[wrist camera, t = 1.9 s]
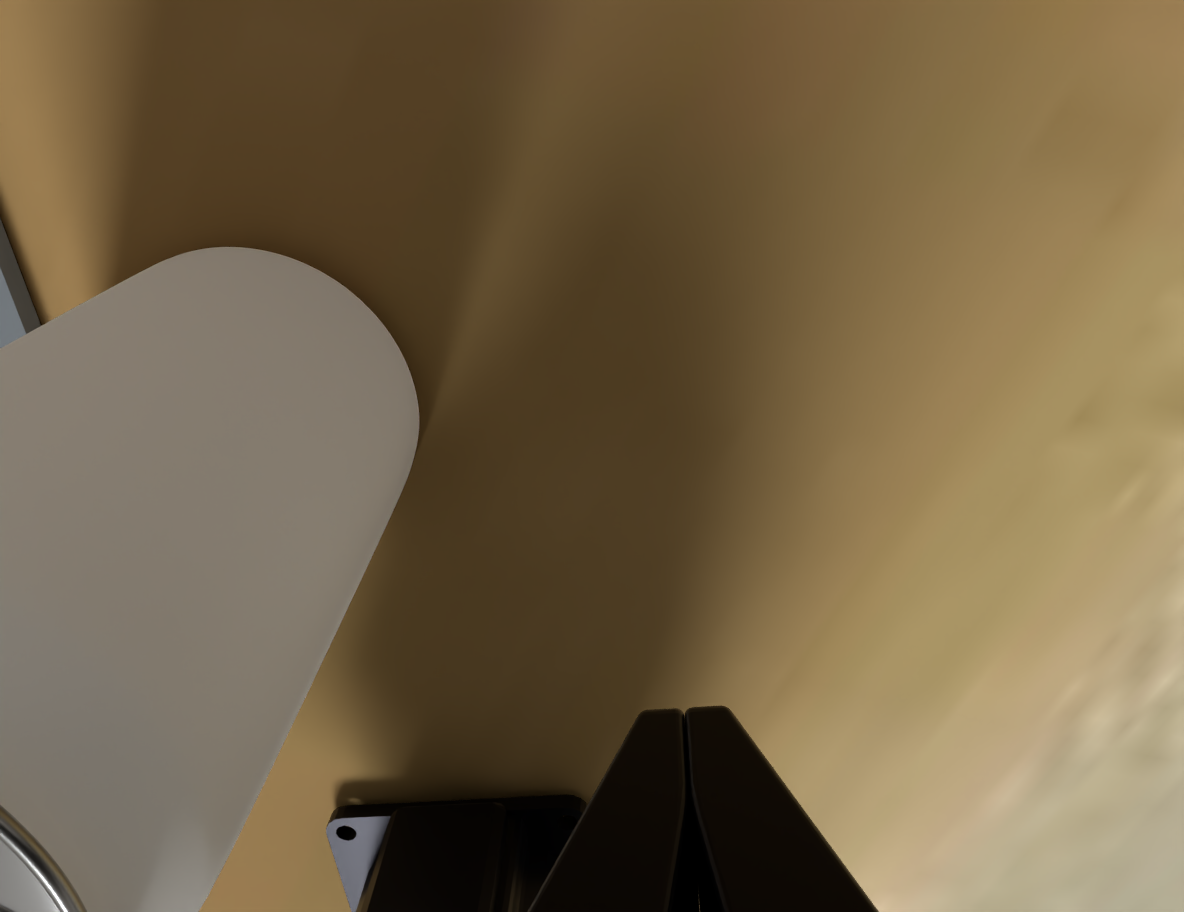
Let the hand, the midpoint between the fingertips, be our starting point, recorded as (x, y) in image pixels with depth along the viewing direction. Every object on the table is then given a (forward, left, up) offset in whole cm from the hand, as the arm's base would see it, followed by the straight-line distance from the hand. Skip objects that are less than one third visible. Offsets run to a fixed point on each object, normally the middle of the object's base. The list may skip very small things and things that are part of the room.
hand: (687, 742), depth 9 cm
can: (0, +8, -10) cm, 13 cm away
